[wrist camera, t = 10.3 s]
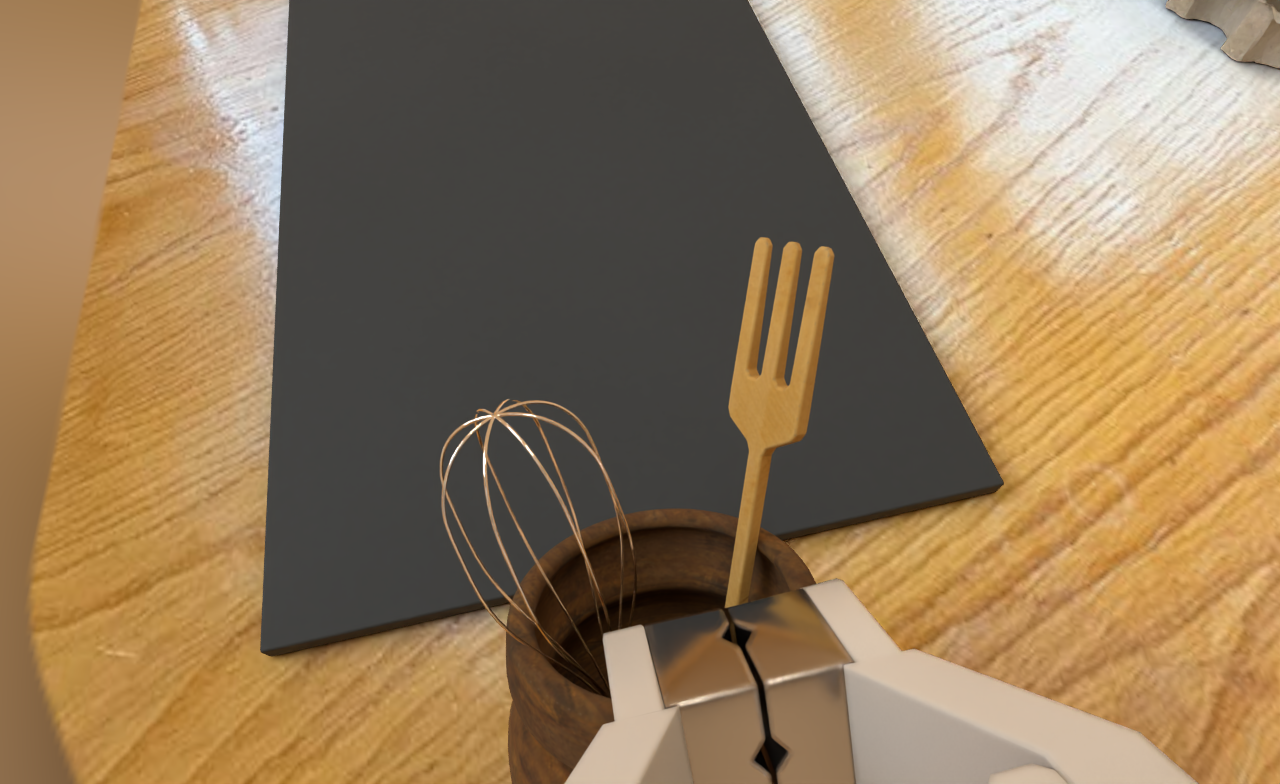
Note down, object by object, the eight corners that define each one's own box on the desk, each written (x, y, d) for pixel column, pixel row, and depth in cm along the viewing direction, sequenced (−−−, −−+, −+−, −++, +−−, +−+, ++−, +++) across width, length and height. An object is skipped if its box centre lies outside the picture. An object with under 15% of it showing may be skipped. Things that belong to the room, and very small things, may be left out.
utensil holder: (490, 855, 15) (330, 311, 10) (710, 691, 18) (674, 222, 13) (670, 1159, 10) (545, 457, 5) (917, 870, 14) (981, 267, 9)
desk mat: (269, 657, 18) (258, 652, 17) (297, -71, 36) (292, -83, 35) (996, 492, 20) (1006, 484, 20) (679, -116, 38) (679, -128, 38)
